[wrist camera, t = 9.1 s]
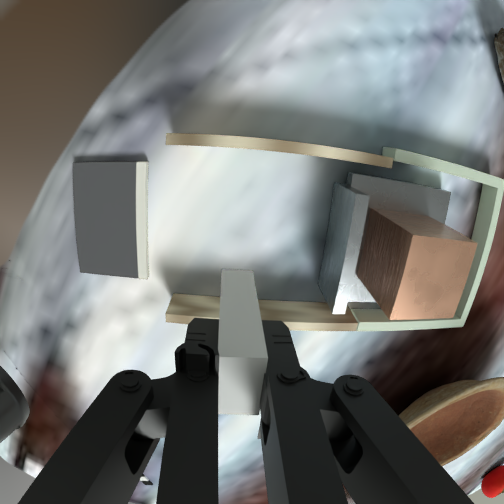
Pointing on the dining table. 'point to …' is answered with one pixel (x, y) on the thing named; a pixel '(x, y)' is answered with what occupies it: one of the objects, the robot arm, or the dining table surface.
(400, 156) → the rails
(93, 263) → the mat
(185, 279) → the dining table surface
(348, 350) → the dining table surface
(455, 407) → the bowl
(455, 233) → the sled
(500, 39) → the stone
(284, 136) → the dining table surface
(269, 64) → the dining table surface
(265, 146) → the channel
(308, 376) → the robot arm
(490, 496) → the tomato
